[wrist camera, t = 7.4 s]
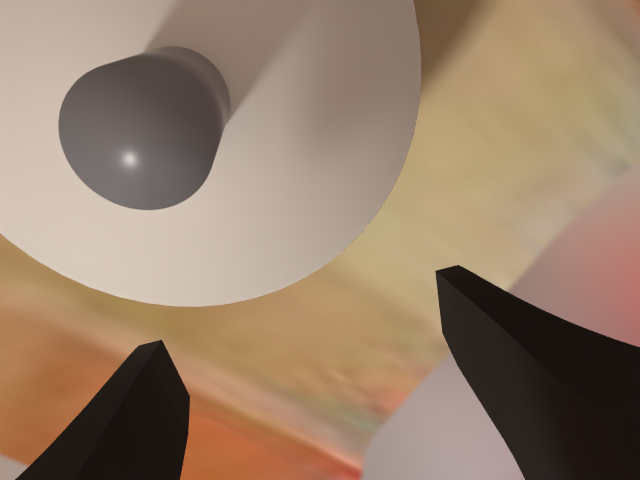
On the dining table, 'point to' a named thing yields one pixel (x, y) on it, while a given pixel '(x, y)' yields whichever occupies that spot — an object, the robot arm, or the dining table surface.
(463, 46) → the dining table surface
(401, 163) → the lid
